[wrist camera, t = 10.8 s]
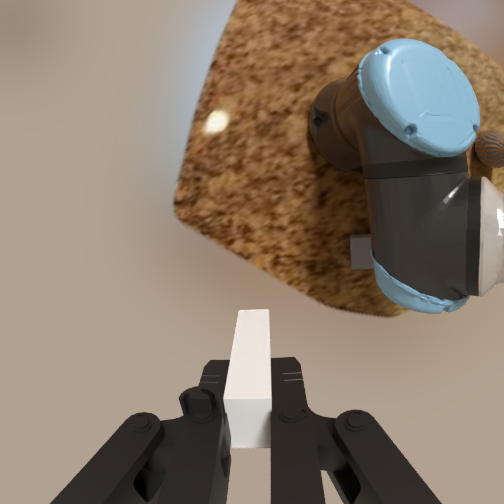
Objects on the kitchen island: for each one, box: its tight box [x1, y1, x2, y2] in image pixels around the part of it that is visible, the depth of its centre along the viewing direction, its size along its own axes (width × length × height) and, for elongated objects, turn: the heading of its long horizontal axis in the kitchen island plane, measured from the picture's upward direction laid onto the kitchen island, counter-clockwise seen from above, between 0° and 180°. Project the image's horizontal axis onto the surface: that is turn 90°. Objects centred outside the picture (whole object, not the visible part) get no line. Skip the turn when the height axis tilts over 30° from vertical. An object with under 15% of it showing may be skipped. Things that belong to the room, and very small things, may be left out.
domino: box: [350, 234, 374, 270], centre depth 42 cm, size 2×5×10 cm
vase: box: [475, 130, 504, 168], centre depth 34 cm, size 7×7×9 cm
